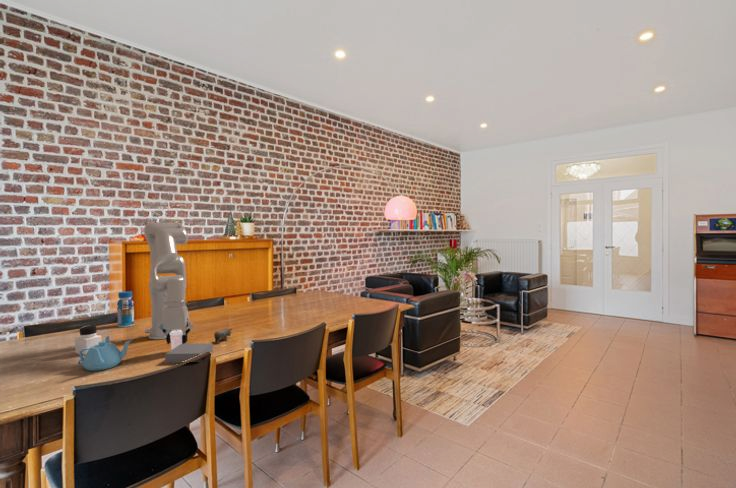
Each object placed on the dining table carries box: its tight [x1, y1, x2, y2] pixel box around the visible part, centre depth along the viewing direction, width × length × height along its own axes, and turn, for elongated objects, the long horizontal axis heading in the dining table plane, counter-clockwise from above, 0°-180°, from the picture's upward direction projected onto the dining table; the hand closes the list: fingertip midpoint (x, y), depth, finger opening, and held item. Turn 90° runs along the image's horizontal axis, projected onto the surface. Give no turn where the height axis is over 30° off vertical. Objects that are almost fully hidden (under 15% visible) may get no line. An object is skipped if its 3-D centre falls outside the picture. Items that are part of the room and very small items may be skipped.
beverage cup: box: [169, 330, 183, 351], centre depth 168 cm, size 6×6×14 cm
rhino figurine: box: [213, 327, 233, 345], centre depth 185 cm, size 4×14×6 cm, turn 167°
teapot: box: [77, 335, 133, 372], centre depth 149 cm, size 15×15×10 cm
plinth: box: [164, 342, 214, 364], centre depth 159 cm, size 14×14×4 cm
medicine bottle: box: [74, 324, 103, 356], centre depth 167 cm, size 7×7×12 cm
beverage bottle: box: [116, 290, 135, 328], centre depth 215 cm, size 8×8×20 cm
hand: (177, 342), depth 168 cm, fingers closed on beverage cup, 6 cm apart
